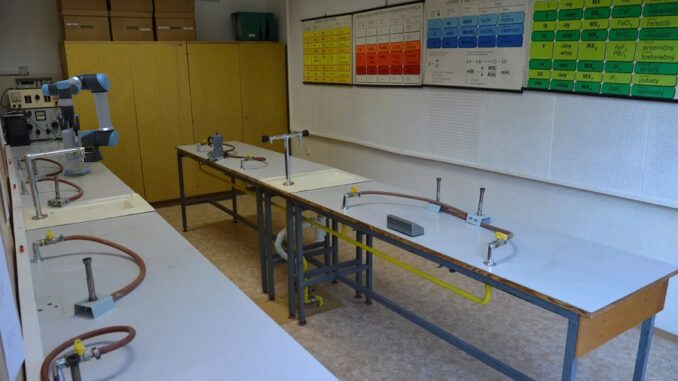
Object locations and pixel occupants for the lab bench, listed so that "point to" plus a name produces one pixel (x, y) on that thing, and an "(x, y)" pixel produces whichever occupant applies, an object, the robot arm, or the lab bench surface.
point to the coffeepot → (217, 144)
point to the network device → (71, 144)
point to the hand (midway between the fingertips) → (72, 141)
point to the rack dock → (70, 171)
